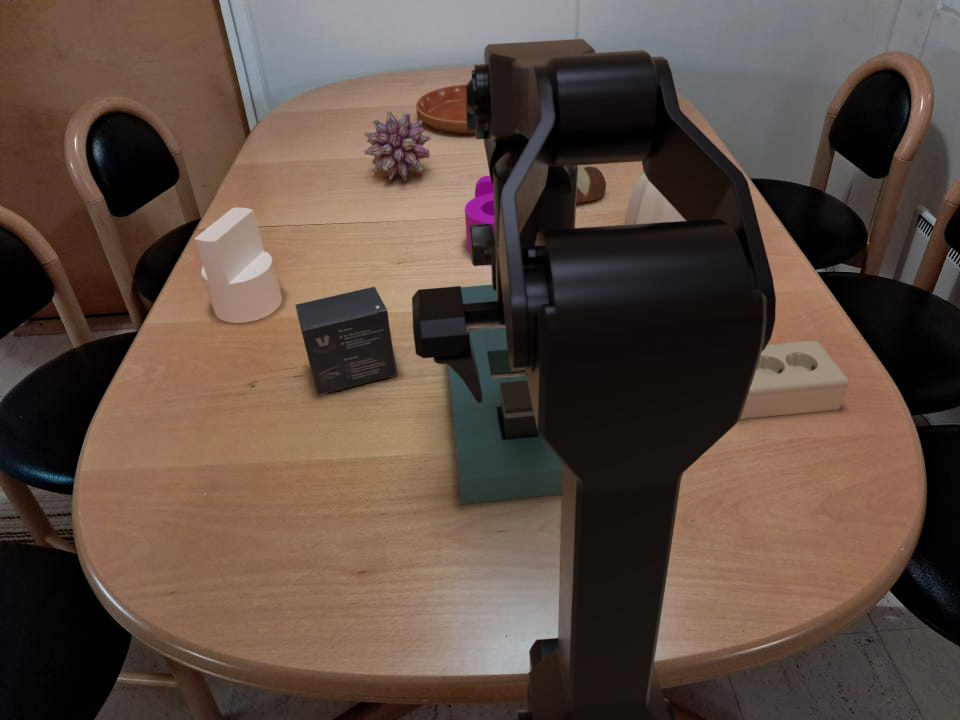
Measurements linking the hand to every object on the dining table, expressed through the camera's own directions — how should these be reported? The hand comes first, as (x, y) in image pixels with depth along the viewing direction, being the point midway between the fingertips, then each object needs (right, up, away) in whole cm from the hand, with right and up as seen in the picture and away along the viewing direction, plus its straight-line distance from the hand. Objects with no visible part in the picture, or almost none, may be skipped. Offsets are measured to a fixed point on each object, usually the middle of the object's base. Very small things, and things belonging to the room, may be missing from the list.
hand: (532, 394), depth 59 cm
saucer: (-6, +54, +87) cm, 103 cm away
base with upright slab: (-36, +10, +35) cm, 51 cm away
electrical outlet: (+24, -1, +17) cm, 30 cm away
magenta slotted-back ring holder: (-1, +22, +47) cm, 52 cm away
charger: (0, -6, +12) cm, 13 cm away
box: (-19, +1, +22) cm, 30 cm away
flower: (-19, +36, +66) cm, 77 cm away
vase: (+23, +19, +42) cm, 51 cm away
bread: (+10, +31, +58) cm, 66 cm away
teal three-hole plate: (-1, 0, +19) cm, 19 cm away
